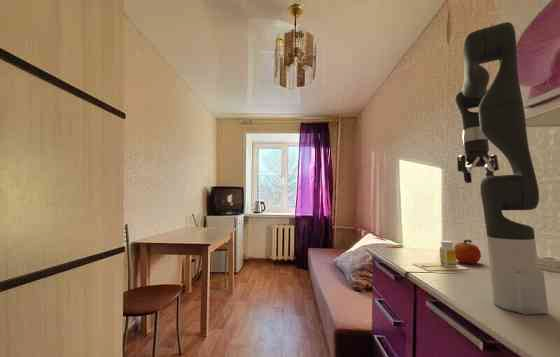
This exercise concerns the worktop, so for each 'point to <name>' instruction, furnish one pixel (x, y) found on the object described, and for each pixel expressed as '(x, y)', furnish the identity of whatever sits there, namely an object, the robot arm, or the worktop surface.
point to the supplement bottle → (447, 254)
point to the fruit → (467, 252)
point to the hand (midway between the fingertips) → (479, 182)
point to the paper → (438, 267)
